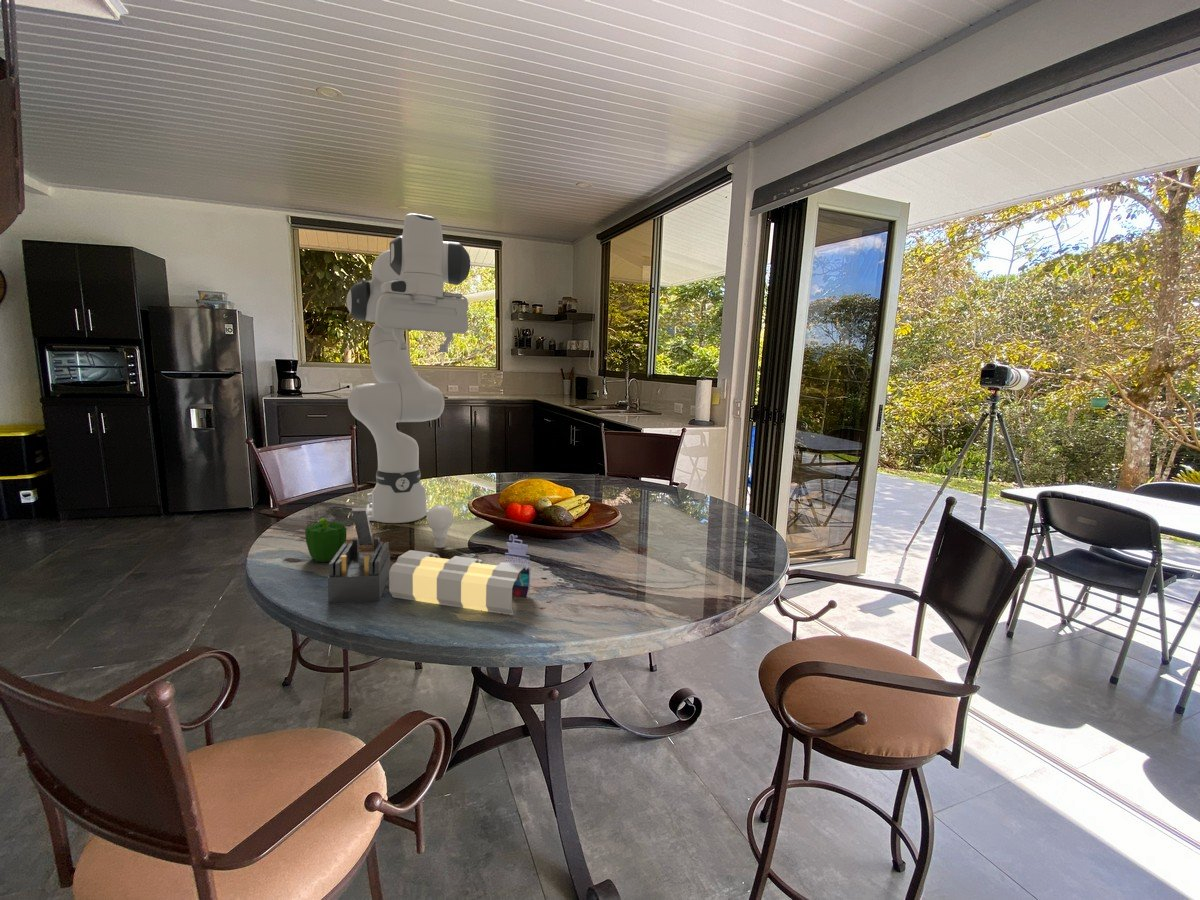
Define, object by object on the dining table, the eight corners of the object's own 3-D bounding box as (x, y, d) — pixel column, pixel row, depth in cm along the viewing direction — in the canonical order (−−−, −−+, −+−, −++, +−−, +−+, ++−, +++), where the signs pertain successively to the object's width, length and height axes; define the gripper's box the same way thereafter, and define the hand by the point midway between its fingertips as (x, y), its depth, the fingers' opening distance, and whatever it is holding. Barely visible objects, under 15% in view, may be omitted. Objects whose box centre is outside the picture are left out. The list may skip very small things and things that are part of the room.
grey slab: (359, 546, 110) (360, 542, 111) (372, 546, 111) (373, 542, 112) (351, 511, 102) (352, 507, 103) (365, 511, 103) (366, 507, 104)
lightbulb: (445, 553, 127) (445, 509, 126) (421, 550, 129) (421, 507, 127) (457, 545, 134) (458, 503, 132) (434, 542, 135) (434, 500, 133)
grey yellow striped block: (530, 596, 107) (532, 534, 105) (511, 619, 97) (513, 551, 95) (418, 580, 112) (418, 521, 110) (389, 600, 102) (388, 535, 100)
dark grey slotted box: (344, 575, 112) (344, 537, 110) (390, 574, 114) (389, 536, 112) (328, 602, 99) (327, 559, 98) (379, 600, 101) (378, 558, 100)
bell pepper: (323, 550, 126) (322, 509, 124) (354, 554, 124) (353, 513, 122) (296, 562, 117) (294, 519, 116) (328, 567, 116) (327, 523, 114)
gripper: (464, 295, 128) (463, 353, 130) (373, 285, 117) (374, 348, 119) (472, 293, 123) (471, 353, 125) (377, 282, 112) (378, 348, 114)
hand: (423, 351), depth 122 cm, fingers open, 8 cm apart
